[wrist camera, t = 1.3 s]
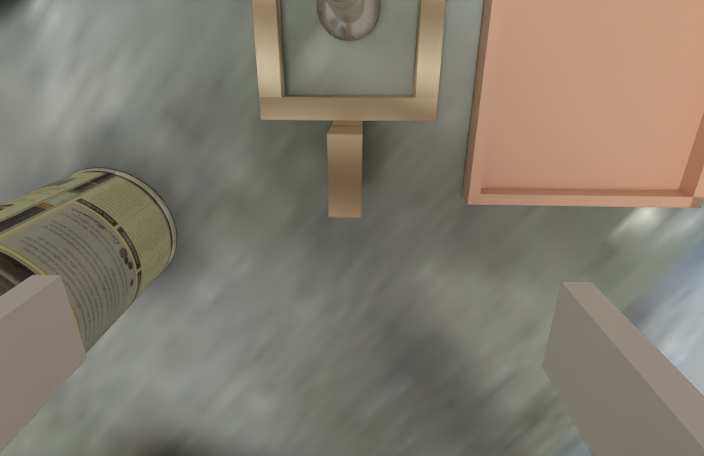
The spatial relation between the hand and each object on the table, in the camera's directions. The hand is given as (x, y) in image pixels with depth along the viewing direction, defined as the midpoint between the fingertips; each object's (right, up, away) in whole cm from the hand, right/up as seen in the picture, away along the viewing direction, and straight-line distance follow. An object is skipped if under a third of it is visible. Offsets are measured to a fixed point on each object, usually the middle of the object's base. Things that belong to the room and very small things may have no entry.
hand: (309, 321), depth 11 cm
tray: (+18, +15, +16) cm, 28 cm away
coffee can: (-18, +2, +22) cm, 29 cm away
